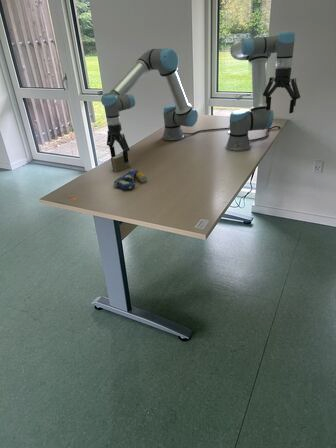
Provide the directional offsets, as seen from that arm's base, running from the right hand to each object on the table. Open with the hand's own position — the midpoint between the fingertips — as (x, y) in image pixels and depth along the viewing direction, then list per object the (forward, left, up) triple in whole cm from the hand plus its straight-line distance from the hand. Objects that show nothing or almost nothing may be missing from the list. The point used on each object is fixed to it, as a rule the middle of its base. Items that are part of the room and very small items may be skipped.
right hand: (279, 111), depth 176 cm
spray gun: (+78, -26, -29) cm, 87 cm away
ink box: (+76, -49, -29) cm, 95 cm away
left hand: (+76, -49, -23) cm, 93 cm away
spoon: (-27, -75, -29) cm, 85 cm away
